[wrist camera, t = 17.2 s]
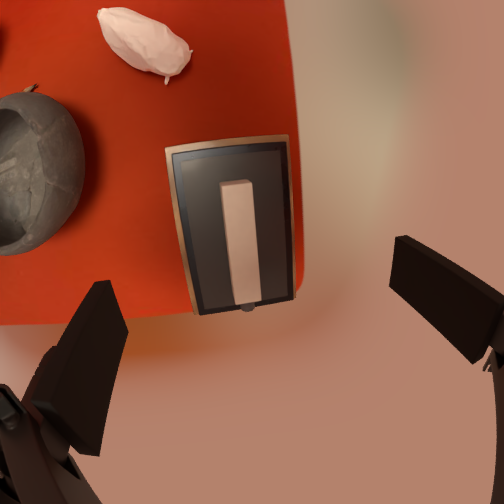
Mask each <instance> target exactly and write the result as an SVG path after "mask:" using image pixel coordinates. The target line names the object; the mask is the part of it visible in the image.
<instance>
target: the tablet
mask: <svg viewBox="0 0 504 504" xmlns="http://www.w3.org/2000/svg"><path fill="white" fill-rule="evenodd" d="M171 157H172V165H173V173H174V180H175V187H176V194H177V201H178V207H179V214H180V220H181V226H182V232H183V238H184V243H185V249H186V254H187V259H188V265H189V270H190V275H191V280H192V285H193V289H194V294H195V299H196V303H197V308H198V312H199V315H207V314H213V313H220V312H227V311H233V310H239V309H241V305H240V304H238V305H236V304H235V300H234V296H233V291H232V284H231V276H230V268H229V261H228V253H227V244H226V236H225V228H224V219H223V211H222V202H221V193H220V184H219V183H220V182H227V181H235V180H244V179H247V180H249V181H250V182H251V183H252V189H253V201H254V213H255V225H256V238H257V250H258V263H259V275H260V288H261V301H256V302H254V305H255V307H257V306H262V305H268V304H274V303H279V302H284V301H290V300H293V299H294V290H293V252H292V226H291V205H290V187H289V171H288V156H287V143H286V141H281V142H265V143H252V144H241V145H231V146H222V147H213V148H205V149H198V150H191V151H184V152H178V153H172V154H171Z"/></svg>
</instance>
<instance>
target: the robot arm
mask: <svg viewBox="0 0 504 504" xmlns="http://www.w3.org/2000/svg"><path fill="white" fill-rule="evenodd" d="M389 287H390V288H391V289H393V290H394V291H395V292H396V293H397V294H398V295H399V296H401V297H402V298H403V299H404V300H405V301H407V303H409V304H410V305H411V306H412V307H413V308H414V309H415V310H416V311H417V312H418V313H420V314H421V315H422V316H423V317H424V318H425V319H426V320H427V321H428V322H429V323H430V324H431V325H433V326H434V327H435V328H436V329H437V330H438V331H439V332H440V333H441V334H442V335H443V336H444V337H445V338H446V339H447V340H448V341H449V342H450V343H451V344H452V345H453V346H454V347H455V348H457V350H458V351H460V353H461V354H463V356H464V357H465V358H466V359H468V361H469V362H470V363H471V364H474V363H476V362H477V361H479V360H480V359H481V358H483V356H484V354H485V352H486V350H487V348H488V346H491V347H492V348H493V349H492V351H491V353H490V355H489V357H488V359H487V361H486V363H485V365H484V366H483V371H485V370H486V368H487V366H488V365H489V364H491V365H490V367H489V369H488V372H492V374H493V382H494V392H495V403H496V424H497V445H496V465H495V476H494V485H493V492H492V498H491V503H490V504H504V295H502V294H501V293H499V292H498V291H497V290H495V289H494V288H492V287H491V286H490V285H488V284H486V283H485V282H483V281H482V280H480V279H479V278H478V277H476V276H475V275H473V274H471V273H470V272H468V271H467V270H465V269H464V268H462V267H460V266H459V265H457V264H456V263H454V262H452V261H451V260H449V259H447V258H446V257H444V256H442V255H441V254H439V253H437V252H436V251H434V250H432V249H431V248H429V247H427V246H425V245H423V244H422V243H420V242H418V241H416V240H415V239H413V238H411V237H409V236H407V235H404V236H398V237H395V245H394V254H393V262H392V270H391V276H390V283H389ZM127 335H128V329H127V326H126V324H125V321H124V319H123V316H122V313H121V311H120V308H119V305H118V302H117V299H116V296H115V294H114V291H113V288H112V285H111V281H110V280H105V281H98V282H94V284H93V285H92V287H91V288H90V290H89V292H88V293H87V295H86V296H85V298H84V299H83V301H82V303H81V304H80V306H79V307H78V309H77V311H76V312H75V314H74V316H73V317H72V319H71V321H70V322H69V324H68V326H67V328H66V329H65V331H64V333H63V335H62V336H61V338H60V340H59V342H58V344H57V346H52V348H50V349H49V351H48V352H46V354H45V355H44V356H43V358H42V360H41V362H40V364H39V367H37V369H36V371H35V375H34V376H33V377H32V379H31V381H30V383H29V386H28V387H27V390H26V392H25V394H24V396H23V398H22V401H21V402H20V401H19V399H18V398H17V397H16V396H15V394H14V393H13V392H12V390H11V389H10V388H9V387H8V386H7V385H5V384H0V504H102V503H101V501H100V500H99V498H98V497H97V496H96V494H95V493H94V491H93V490H92V488H91V487H90V485H89V484H88V482H87V480H86V479H85V477H84V476H83V474H82V473H81V471H80V469H79V467H78V466H77V464H76V462H75V460H74V459H73V457H72V456H71V455H70V454H69V453H68V451H69V448H70V445H71V446H72V447H73V448H74V449H75V450H76V451H77V452H78V453H79V454H84V455H91V456H99V455H100V450H101V444H102V438H103V433H104V427H105V422H106V417H107V413H108V408H109V404H110V399H111V395H112V391H113V387H114V382H115V379H116V375H117V371H118V367H119V363H120V360H121V356H122V353H123V349H124V346H125V342H126V339H127Z"/></svg>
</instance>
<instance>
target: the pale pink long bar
mask: <svg viewBox="0 0 504 504" xmlns="http://www.w3.org/2000/svg"><path fill="white" fill-rule="evenodd" d="M219 184H220V193H221V202H222V211H223V219H224V228H225V236H226V244H227V253H228V261H229V268H230V276H231V284H232V291H233V296H234V300H235V304H236V305H238V304H240V305H241V309H242V310H243V311H245V312H249V311H252V310H253V309H254V308H255V305H254V302H256V301H261V288H260V275H259V263H258V250H257V238H256V225H255V213H254V201H253V189H252V183H251V182H250V181H249V180H247V179H244V180H235V181H227V182H220V183H219Z"/></svg>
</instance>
